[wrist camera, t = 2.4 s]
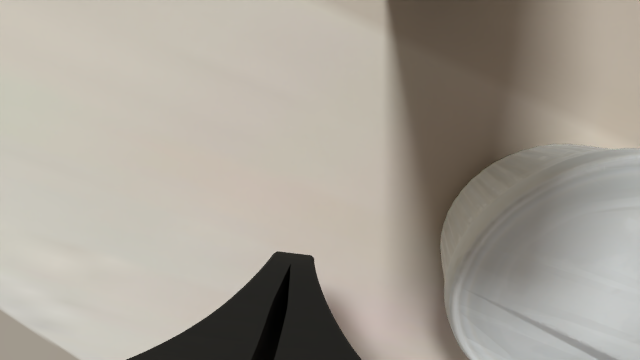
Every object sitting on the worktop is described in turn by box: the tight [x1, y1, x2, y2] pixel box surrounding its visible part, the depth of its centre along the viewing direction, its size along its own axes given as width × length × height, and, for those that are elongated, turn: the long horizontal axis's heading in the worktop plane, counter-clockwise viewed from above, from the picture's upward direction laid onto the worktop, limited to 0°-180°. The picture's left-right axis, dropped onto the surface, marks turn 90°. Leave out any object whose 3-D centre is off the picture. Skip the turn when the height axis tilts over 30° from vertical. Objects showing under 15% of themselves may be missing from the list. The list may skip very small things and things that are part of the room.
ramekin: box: [440, 144, 640, 360], centre depth 15 cm, size 11×11×5 cm
